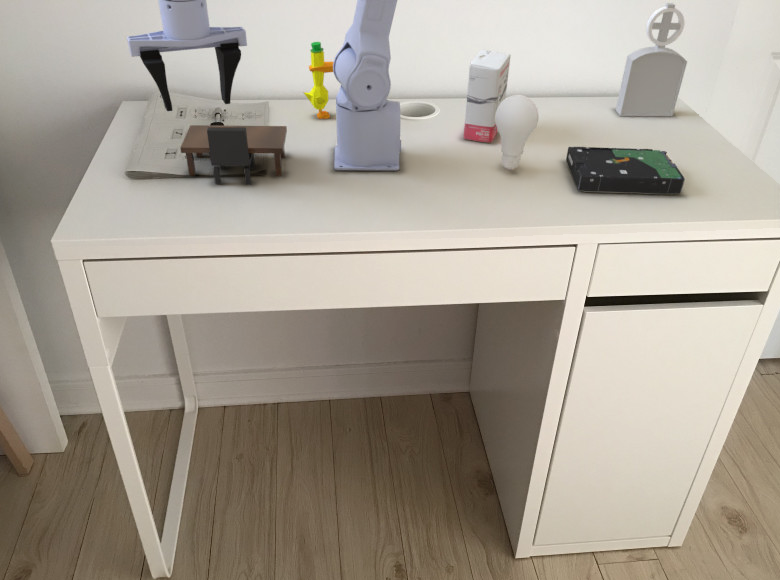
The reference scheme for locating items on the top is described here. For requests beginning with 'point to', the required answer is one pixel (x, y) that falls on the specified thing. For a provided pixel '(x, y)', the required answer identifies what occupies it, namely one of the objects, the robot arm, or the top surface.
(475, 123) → the ink box
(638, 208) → the top surface
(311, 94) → the toy figure
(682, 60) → the gravestone
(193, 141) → the brown toy table
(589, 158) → the disk drive
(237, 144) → the chair
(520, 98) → the lightbulb
